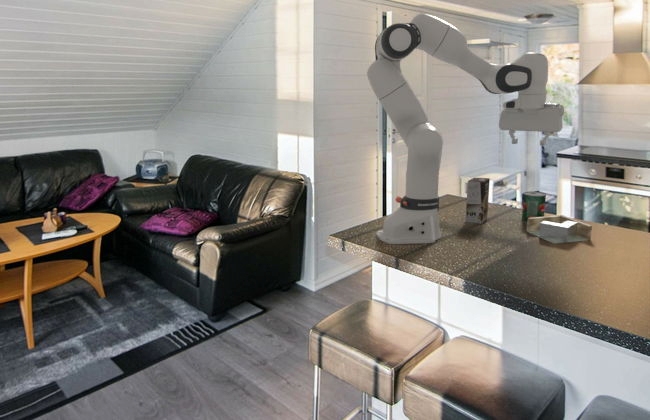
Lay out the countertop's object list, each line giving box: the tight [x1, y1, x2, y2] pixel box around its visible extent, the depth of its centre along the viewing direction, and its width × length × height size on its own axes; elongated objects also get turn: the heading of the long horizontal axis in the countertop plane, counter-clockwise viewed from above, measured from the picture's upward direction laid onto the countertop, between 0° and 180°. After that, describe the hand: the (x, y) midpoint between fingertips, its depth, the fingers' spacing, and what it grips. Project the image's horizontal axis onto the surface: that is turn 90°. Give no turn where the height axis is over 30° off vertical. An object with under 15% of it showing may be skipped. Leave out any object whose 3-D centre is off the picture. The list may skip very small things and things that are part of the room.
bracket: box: [538, 221, 578, 243], centre depth 176 cm, size 9×9×5 cm
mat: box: [528, 230, 589, 245], centre depth 179 cm, size 14×15×1 cm
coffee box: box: [465, 177, 491, 225], centre depth 198 cm, size 9×6×16 cm
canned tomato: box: [521, 191, 547, 224], centre depth 195 cm, size 8×8×11 cm
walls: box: [526, 214, 593, 241], centre depth 178 cm, size 14×15×5 cm
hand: (528, 144), depth 176 cm, fingers open, 8 cm apart
